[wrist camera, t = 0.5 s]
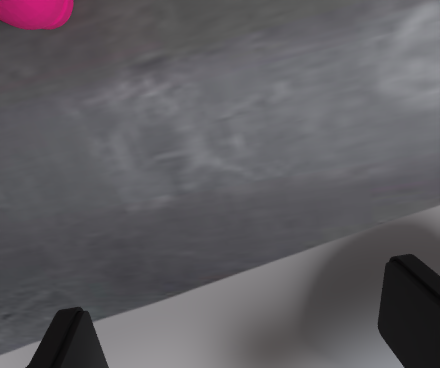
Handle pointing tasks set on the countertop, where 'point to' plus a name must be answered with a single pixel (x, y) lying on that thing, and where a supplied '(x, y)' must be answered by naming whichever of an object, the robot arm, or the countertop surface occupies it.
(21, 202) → the countertop surface
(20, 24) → the pepper mill
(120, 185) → the countertop surface
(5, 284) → the countertop surface
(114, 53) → the countertop surface
